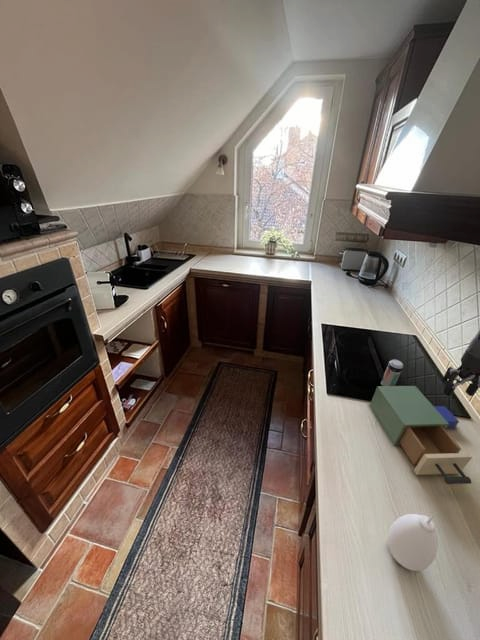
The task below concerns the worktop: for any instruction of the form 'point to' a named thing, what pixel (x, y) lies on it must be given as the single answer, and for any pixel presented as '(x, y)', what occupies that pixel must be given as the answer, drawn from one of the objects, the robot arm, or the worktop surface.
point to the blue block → (447, 416)
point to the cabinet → (403, 410)
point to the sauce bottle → (413, 541)
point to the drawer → (435, 453)
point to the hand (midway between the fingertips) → (457, 394)
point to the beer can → (392, 373)
